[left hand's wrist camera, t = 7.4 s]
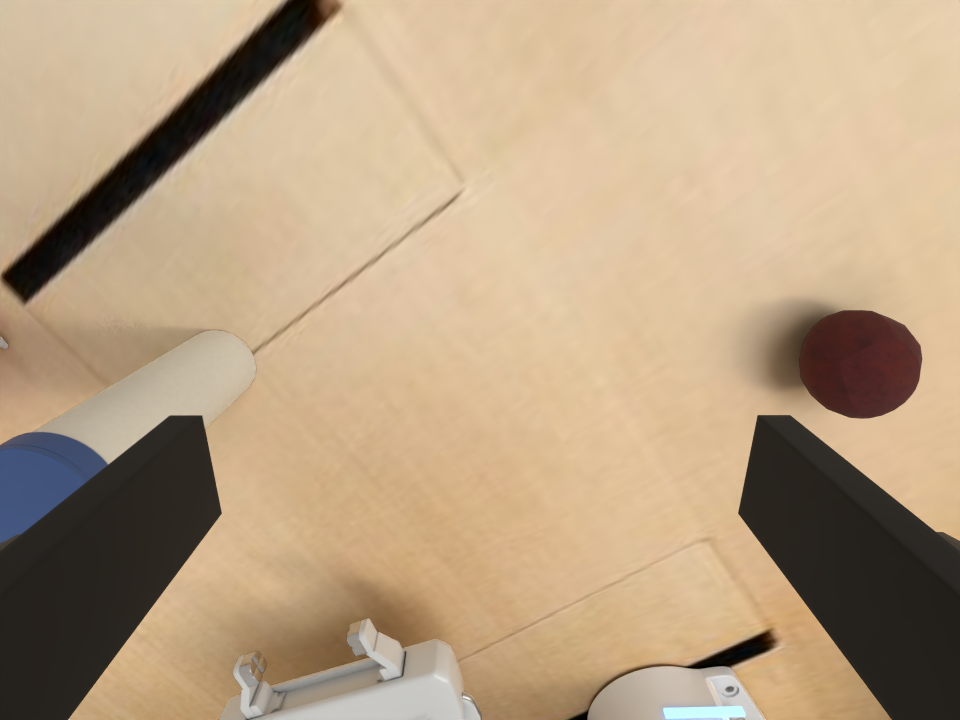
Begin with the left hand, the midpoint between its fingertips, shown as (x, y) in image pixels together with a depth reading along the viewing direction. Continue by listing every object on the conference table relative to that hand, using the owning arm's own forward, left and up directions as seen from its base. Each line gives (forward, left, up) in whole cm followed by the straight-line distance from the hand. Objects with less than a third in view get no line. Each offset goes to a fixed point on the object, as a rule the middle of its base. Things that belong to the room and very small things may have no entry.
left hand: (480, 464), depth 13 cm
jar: (+8, -20, -28) cm, 36 cm away
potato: (+6, +27, -28) cm, 39 cm away
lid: (+8, -20, -10) cm, 24 cm away
